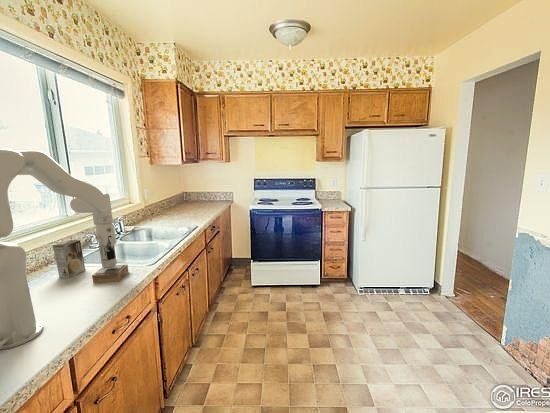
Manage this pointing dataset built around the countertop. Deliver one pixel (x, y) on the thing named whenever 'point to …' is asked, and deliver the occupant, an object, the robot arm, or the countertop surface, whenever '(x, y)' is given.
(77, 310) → the countertop surface
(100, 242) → the energy drink can
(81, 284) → the countertop surface
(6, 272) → the robot arm
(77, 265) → the coffee box
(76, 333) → the countertop surface
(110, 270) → the plate
